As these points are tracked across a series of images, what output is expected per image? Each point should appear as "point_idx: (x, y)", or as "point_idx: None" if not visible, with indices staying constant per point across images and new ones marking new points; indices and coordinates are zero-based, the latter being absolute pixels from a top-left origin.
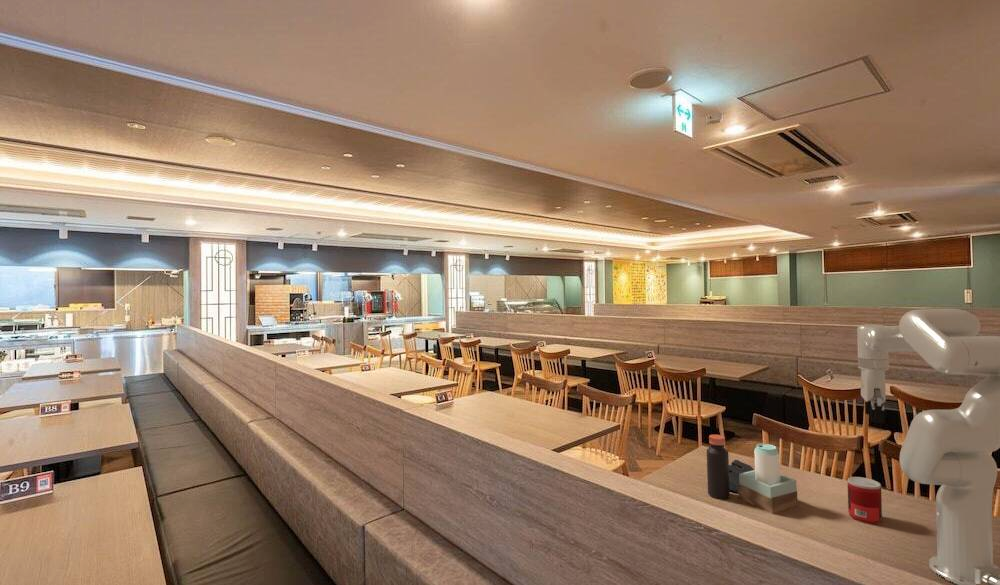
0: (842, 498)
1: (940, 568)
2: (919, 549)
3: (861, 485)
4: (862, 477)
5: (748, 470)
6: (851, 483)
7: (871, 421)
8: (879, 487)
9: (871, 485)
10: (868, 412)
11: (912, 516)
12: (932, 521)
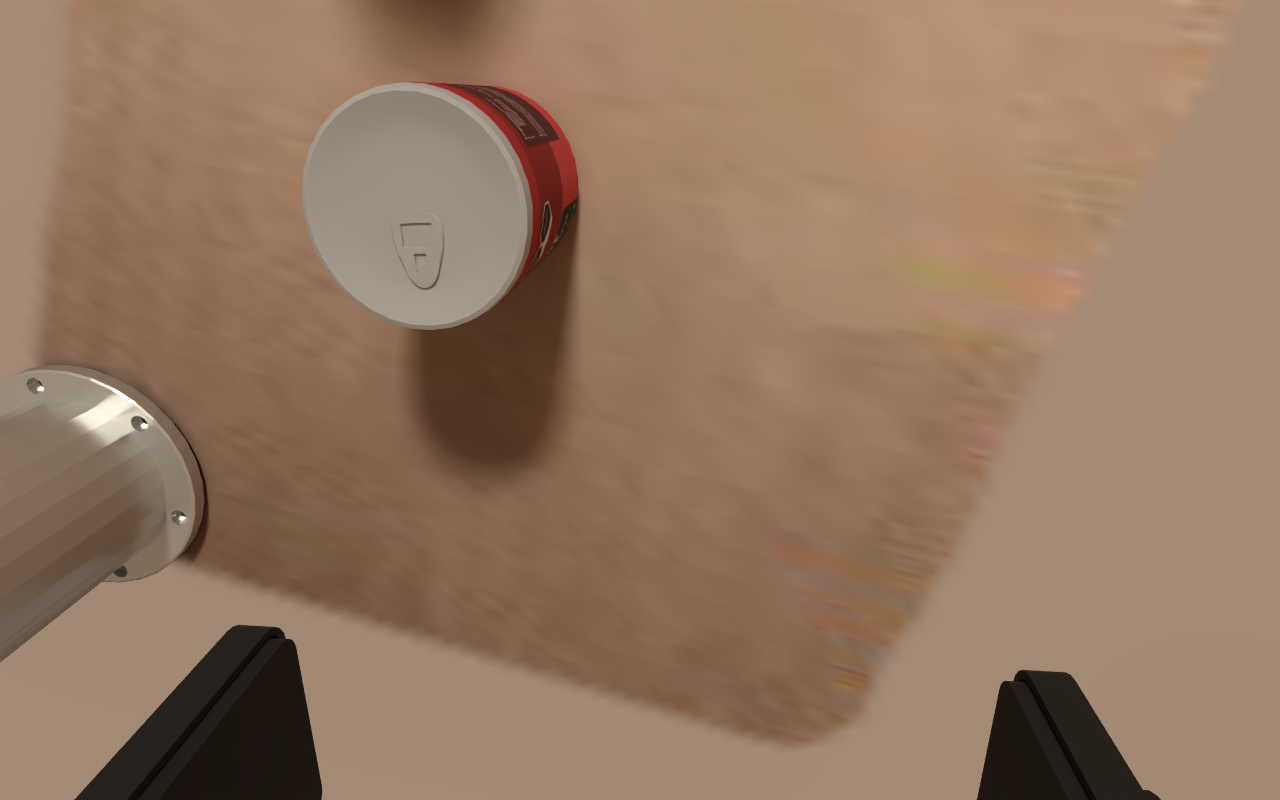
0: (779, 82)
1: (31, 399)
2: (239, 368)
3: (304, 178)
4: (522, 219)
5: None
6: (345, 105)
7: (263, 626)
8: (371, 309)
9: (389, 260)
10: (1014, 744)
11: (652, 436)
12: (628, 510)
